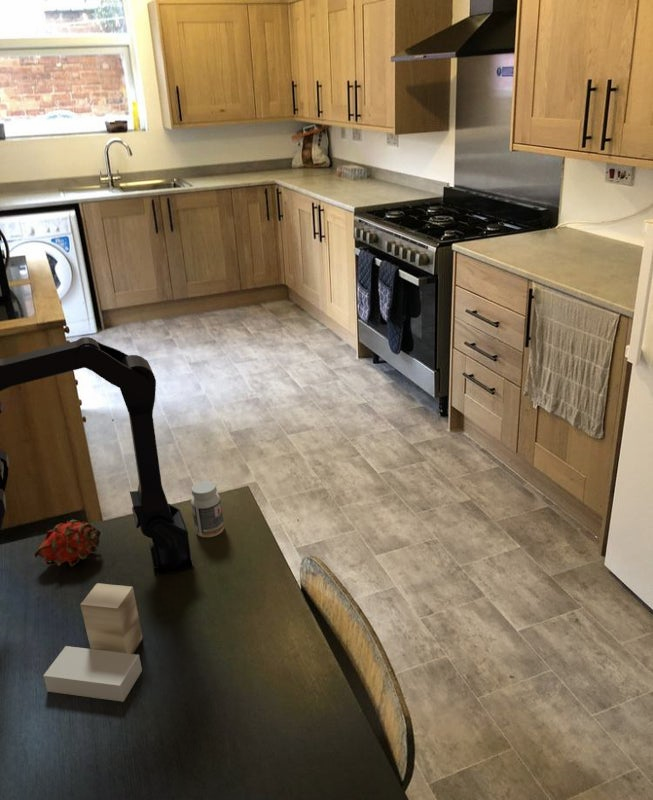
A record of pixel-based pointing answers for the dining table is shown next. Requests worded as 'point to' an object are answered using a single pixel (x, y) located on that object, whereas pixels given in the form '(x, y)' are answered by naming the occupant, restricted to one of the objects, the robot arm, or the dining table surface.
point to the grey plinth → (93, 673)
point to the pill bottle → (207, 509)
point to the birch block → (112, 618)
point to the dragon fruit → (69, 543)
